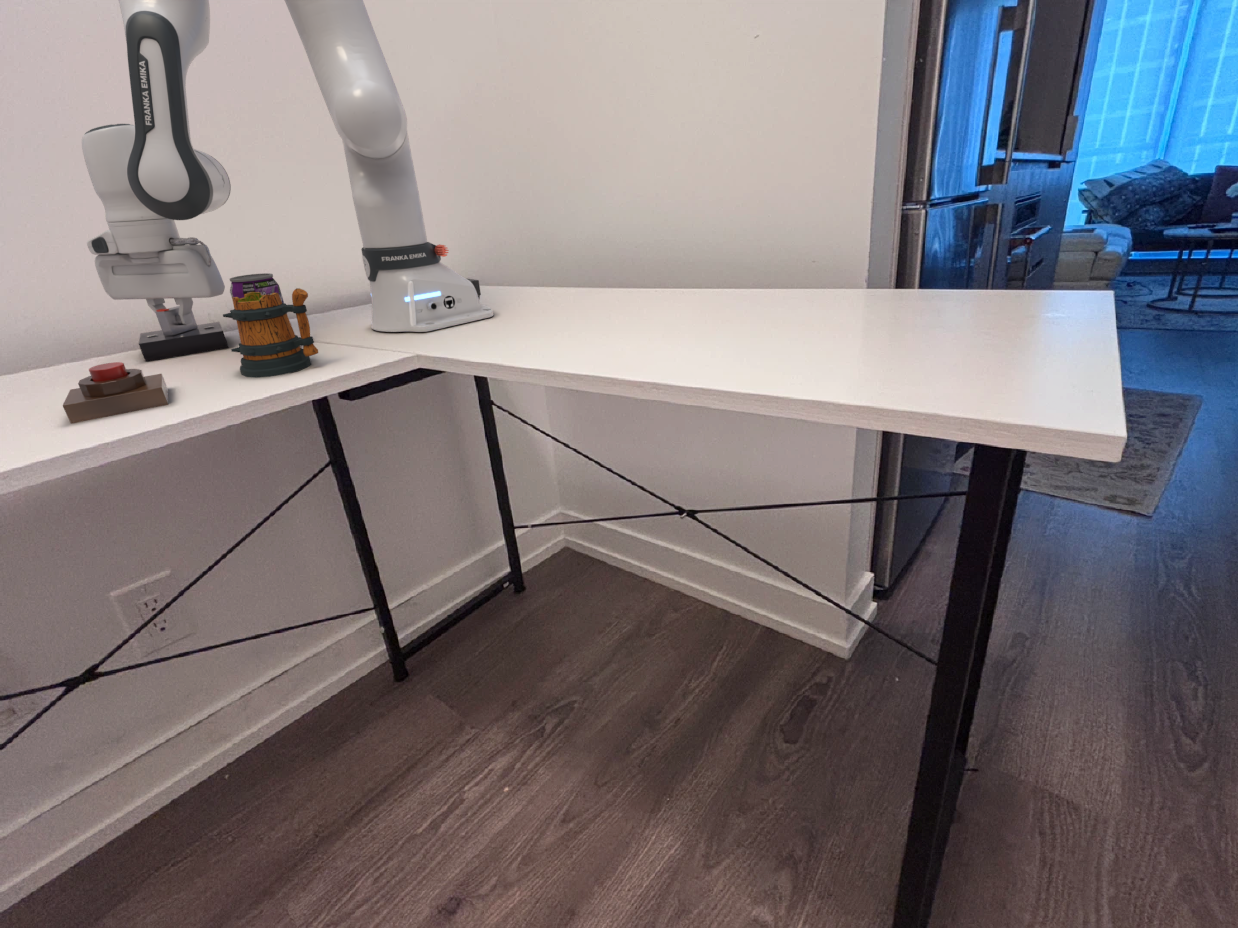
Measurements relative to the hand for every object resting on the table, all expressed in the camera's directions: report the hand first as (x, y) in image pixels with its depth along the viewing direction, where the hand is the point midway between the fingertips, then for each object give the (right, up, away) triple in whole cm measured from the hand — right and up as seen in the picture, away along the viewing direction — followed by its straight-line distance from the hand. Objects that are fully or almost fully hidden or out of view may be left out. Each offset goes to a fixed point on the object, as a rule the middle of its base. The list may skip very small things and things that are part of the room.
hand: (178, 324), depth 106 cm
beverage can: (+17, -5, -2) cm, 18 cm away
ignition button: (+11, -13, -27) cm, 32 cm away
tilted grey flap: (0, -1, +1) cm, 1 cm away
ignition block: (+11, -16, -25) cm, 32 cm away
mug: (+25, -10, -13) cm, 30 cm away
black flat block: (0, -4, +2) cm, 4 cm away
